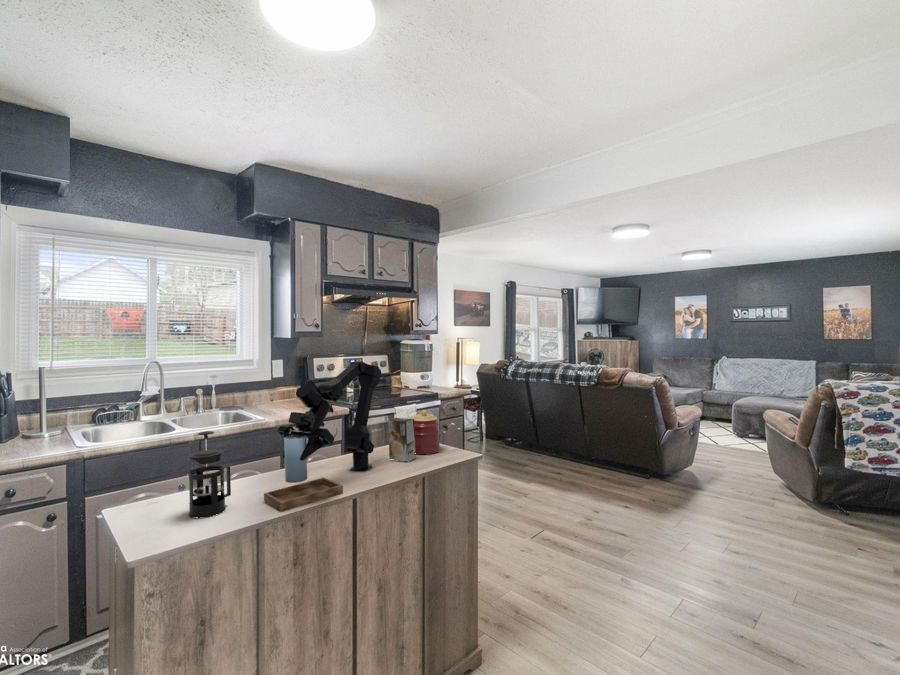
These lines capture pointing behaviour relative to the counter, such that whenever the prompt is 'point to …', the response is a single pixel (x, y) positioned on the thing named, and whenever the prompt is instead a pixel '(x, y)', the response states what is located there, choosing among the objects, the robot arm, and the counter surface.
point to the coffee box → (401, 439)
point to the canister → (426, 433)
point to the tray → (302, 494)
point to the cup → (295, 458)
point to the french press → (207, 495)
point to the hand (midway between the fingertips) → (292, 459)
